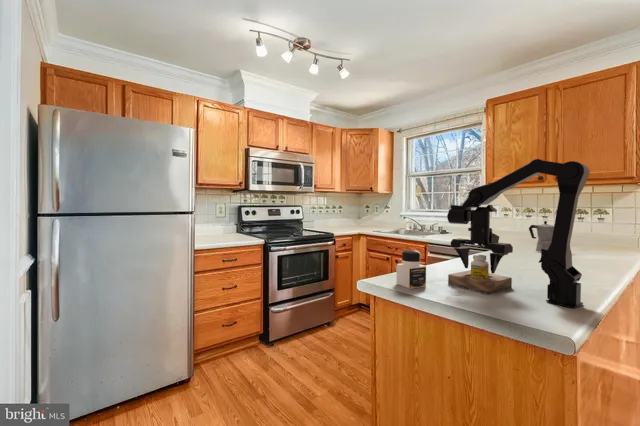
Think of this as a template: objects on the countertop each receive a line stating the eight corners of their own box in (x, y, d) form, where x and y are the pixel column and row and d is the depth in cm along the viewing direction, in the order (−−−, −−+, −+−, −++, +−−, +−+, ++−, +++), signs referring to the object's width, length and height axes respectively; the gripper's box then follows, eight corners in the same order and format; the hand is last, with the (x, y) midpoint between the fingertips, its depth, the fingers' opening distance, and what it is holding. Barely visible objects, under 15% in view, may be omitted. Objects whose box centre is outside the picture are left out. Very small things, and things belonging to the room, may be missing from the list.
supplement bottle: (488, 282, 104) (489, 254, 104) (488, 286, 99) (488, 257, 99) (471, 280, 107) (471, 253, 106) (470, 284, 102) (470, 255, 102)
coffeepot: (552, 250, 184) (553, 220, 183) (562, 252, 175) (562, 221, 174) (524, 249, 187) (525, 220, 186) (532, 251, 178) (533, 221, 177)
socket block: (511, 288, 101) (511, 277, 101) (488, 294, 94) (488, 283, 93) (471, 279, 113) (471, 269, 113) (448, 284, 105) (448, 274, 105)
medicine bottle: (409, 289, 100) (409, 253, 99) (395, 283, 106) (396, 250, 106) (426, 286, 102) (426, 251, 102) (412, 281, 109) (412, 248, 109)
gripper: (521, 225, 99) (521, 273, 99) (468, 222, 115) (467, 263, 115) (503, 227, 93) (502, 277, 93) (449, 223, 109) (449, 266, 109)
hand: (479, 270), depth 103 cm, fingers open, 9 cm apart
